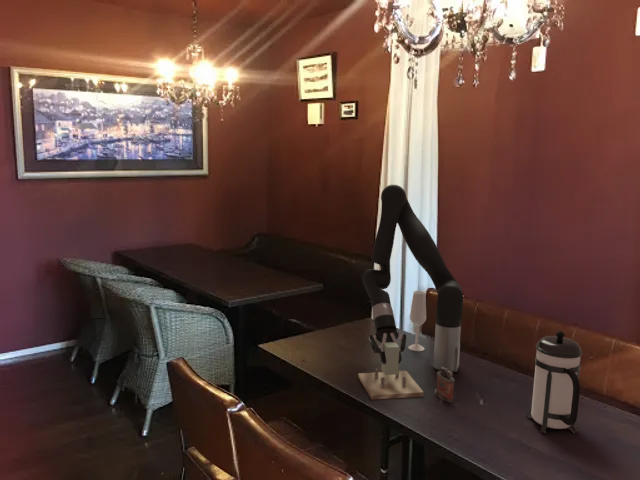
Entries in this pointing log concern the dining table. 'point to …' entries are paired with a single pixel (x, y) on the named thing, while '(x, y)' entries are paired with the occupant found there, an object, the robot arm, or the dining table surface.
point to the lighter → (445, 384)
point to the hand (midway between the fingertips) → (392, 363)
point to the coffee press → (556, 382)
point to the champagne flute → (418, 316)
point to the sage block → (391, 358)
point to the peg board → (390, 385)
